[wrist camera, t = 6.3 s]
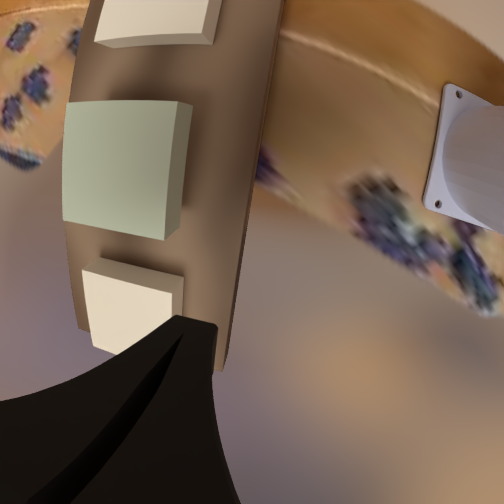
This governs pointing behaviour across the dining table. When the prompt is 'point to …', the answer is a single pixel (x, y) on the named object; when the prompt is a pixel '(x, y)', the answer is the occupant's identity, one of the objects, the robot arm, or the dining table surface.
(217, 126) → the board
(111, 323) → the key
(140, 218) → the key middle
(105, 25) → the key
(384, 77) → the dining table surface
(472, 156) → the robot arm
